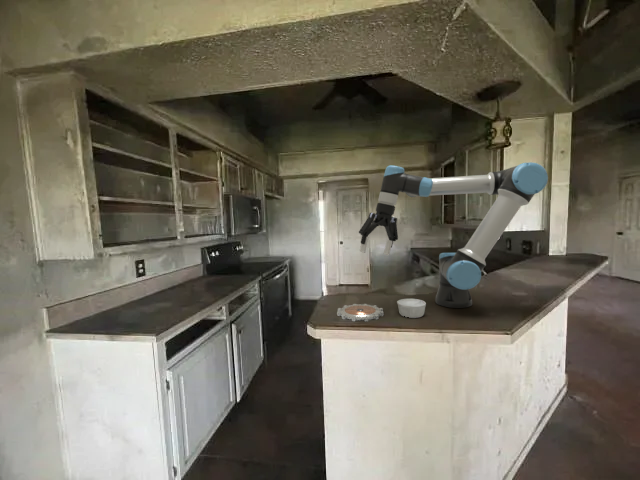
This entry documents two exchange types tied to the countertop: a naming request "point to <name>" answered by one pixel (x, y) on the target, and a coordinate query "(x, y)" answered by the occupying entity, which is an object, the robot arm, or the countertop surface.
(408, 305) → the ramekin
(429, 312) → the countertop surface
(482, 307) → the countertop surface
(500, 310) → the countertop surface
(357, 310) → the plate
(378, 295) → the countertop surface
